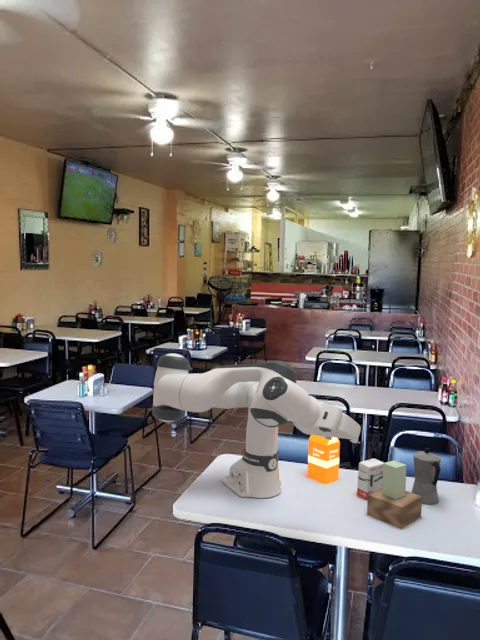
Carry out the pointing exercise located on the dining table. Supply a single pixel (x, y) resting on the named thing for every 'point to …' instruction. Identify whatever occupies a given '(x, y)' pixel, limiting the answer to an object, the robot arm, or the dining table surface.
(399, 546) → the dining table surface
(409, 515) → the walnut block
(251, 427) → the robot arm
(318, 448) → the orange juice
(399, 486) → the sage block
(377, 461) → the ink box
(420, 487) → the coffeepot
